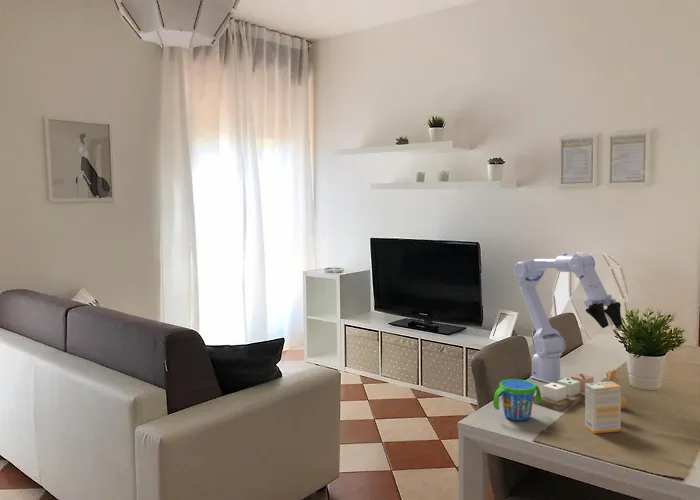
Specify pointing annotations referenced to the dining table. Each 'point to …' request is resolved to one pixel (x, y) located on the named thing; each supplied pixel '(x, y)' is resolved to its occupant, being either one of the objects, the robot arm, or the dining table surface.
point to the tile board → (562, 401)
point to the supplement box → (602, 407)
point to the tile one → (554, 391)
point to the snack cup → (517, 398)
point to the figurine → (612, 379)
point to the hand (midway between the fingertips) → (612, 326)
